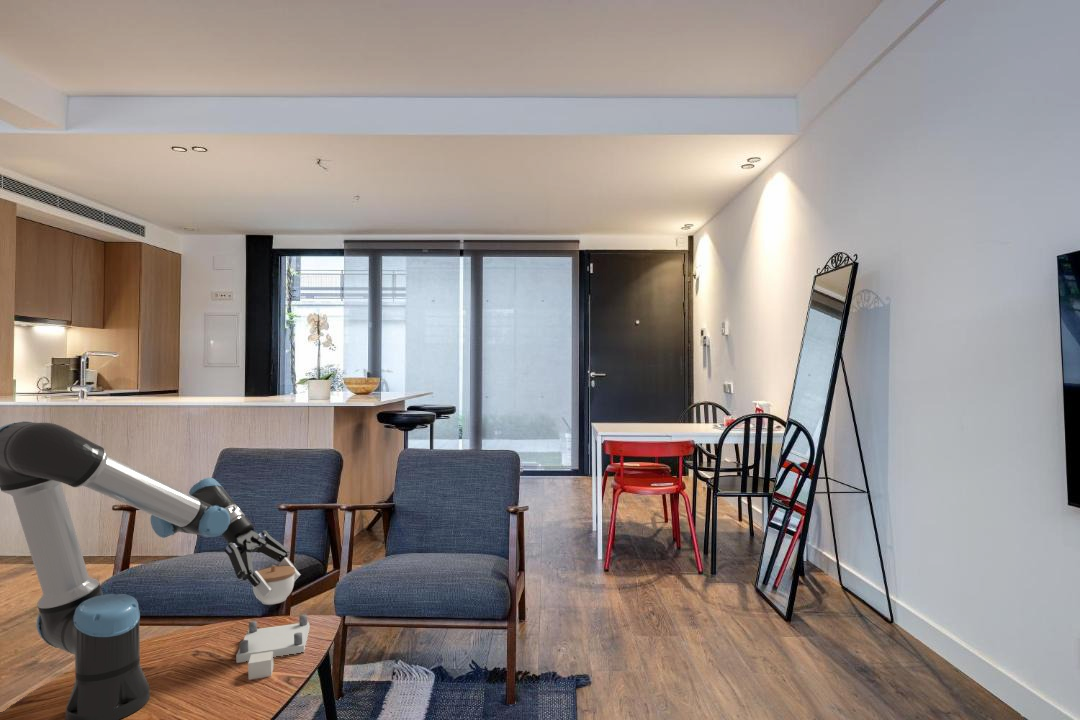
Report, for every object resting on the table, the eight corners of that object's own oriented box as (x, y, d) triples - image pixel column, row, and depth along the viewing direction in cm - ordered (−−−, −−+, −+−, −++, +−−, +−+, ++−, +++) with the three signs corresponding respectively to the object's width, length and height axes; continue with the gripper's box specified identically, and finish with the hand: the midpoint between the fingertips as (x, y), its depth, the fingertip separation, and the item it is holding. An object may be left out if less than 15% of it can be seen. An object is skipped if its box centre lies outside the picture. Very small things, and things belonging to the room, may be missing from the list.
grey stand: (236, 663, 154) (236, 645, 155) (248, 637, 170) (248, 621, 170) (304, 653, 159) (303, 635, 159) (309, 628, 174) (309, 613, 174)
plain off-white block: (248, 680, 146) (248, 663, 146) (251, 671, 150) (251, 654, 150) (271, 676, 147) (270, 659, 147) (273, 667, 152) (273, 651, 152)
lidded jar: (303, 593, 169) (302, 559, 169) (281, 608, 159) (280, 572, 159) (267, 592, 171) (266, 559, 171) (243, 607, 160) (242, 571, 160)
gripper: (207, 526, 157) (259, 591, 152) (270, 506, 179) (318, 562, 174) (191, 546, 158) (242, 611, 154) (256, 523, 180) (302, 580, 176)
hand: (282, 585), depth 164 cm, fingers closed on lidded jar, 11 cm apart
